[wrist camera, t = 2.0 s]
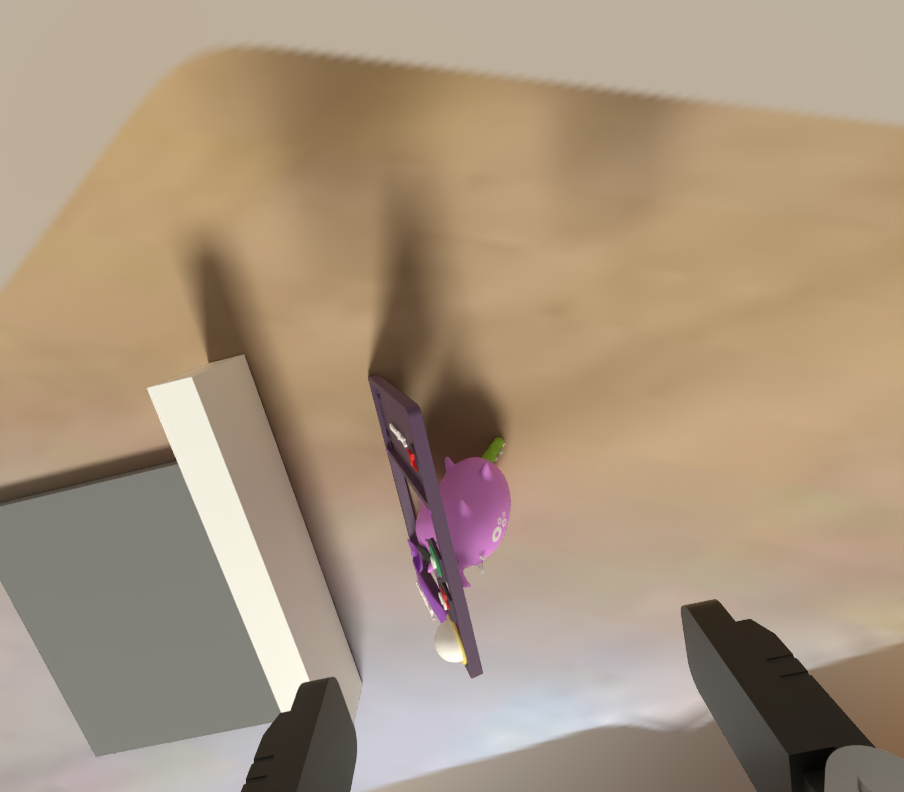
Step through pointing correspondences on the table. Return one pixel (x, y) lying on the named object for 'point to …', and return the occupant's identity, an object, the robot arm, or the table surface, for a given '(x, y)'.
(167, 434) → the low wall
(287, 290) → the table surface
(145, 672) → the rubber mat
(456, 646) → the purple framed toy figure
